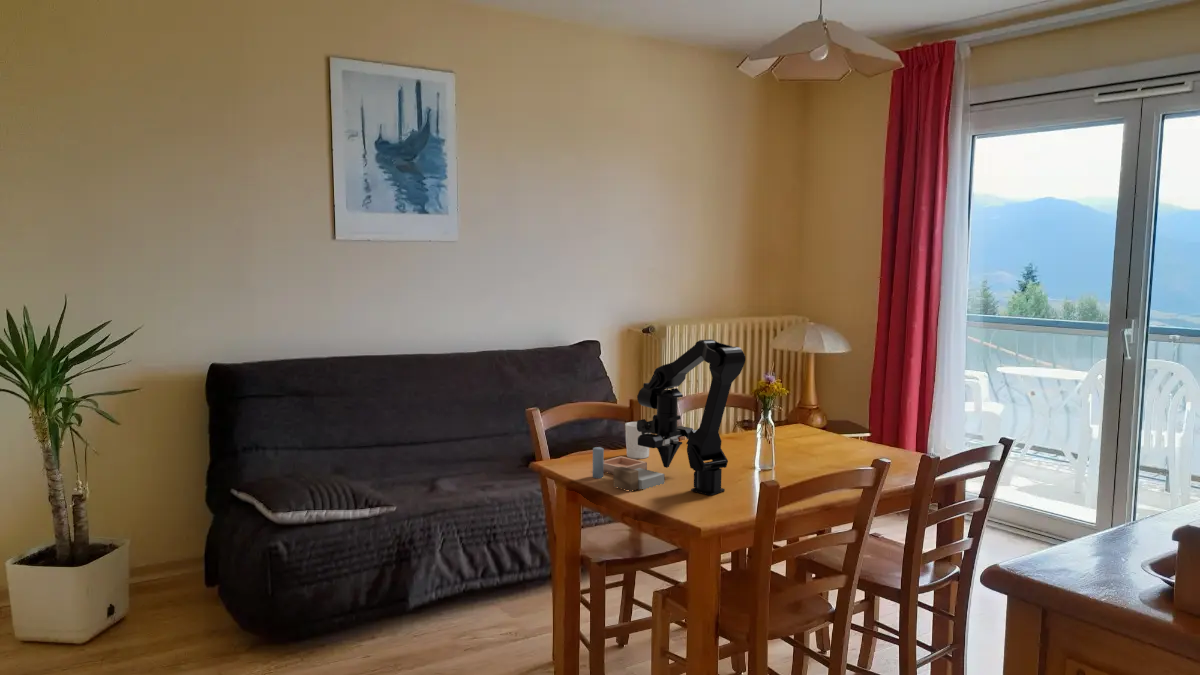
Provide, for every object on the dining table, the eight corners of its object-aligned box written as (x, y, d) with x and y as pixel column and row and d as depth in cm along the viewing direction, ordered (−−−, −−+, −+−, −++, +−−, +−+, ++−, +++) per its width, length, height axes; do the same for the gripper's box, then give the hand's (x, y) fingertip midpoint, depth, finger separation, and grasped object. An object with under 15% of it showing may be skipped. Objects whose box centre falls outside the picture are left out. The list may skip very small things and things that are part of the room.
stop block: (638, 489, 214) (638, 470, 213) (630, 491, 212) (630, 472, 211) (621, 484, 218) (621, 466, 217) (613, 487, 216) (613, 468, 215)
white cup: (655, 455, 251) (655, 423, 251) (643, 460, 245) (643, 427, 244) (632, 452, 255) (632, 420, 255) (620, 457, 249) (620, 424, 248)
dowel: (605, 476, 226) (605, 448, 225) (598, 479, 224) (598, 450, 223) (597, 474, 228) (598, 446, 227) (590, 476, 226) (590, 448, 225)
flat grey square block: (664, 484, 220) (664, 474, 219) (642, 491, 213) (642, 480, 213) (639, 478, 226) (639, 468, 226) (617, 485, 220) (617, 474, 219)
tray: (646, 470, 233) (647, 462, 233) (623, 476, 226) (623, 468, 226) (620, 464, 240) (621, 456, 240) (597, 470, 233) (597, 462, 233)
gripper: (665, 404, 238) (664, 456, 239) (622, 412, 224) (622, 468, 225) (696, 409, 230) (695, 463, 231) (654, 417, 216) (653, 475, 218)
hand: (666, 467), depth 227 cm, fingers closed
